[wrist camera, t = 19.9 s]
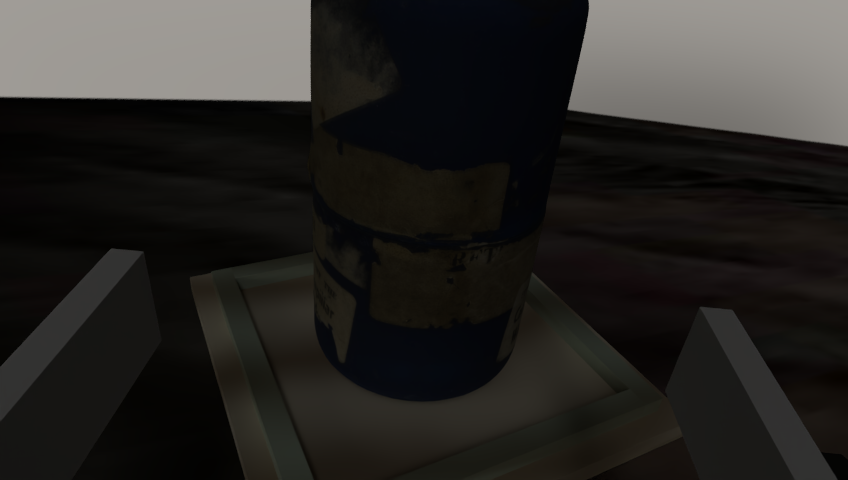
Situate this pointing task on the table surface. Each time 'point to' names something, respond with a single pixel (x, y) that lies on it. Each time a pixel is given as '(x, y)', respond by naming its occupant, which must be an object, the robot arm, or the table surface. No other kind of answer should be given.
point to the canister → (432, 181)
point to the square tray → (412, 420)
